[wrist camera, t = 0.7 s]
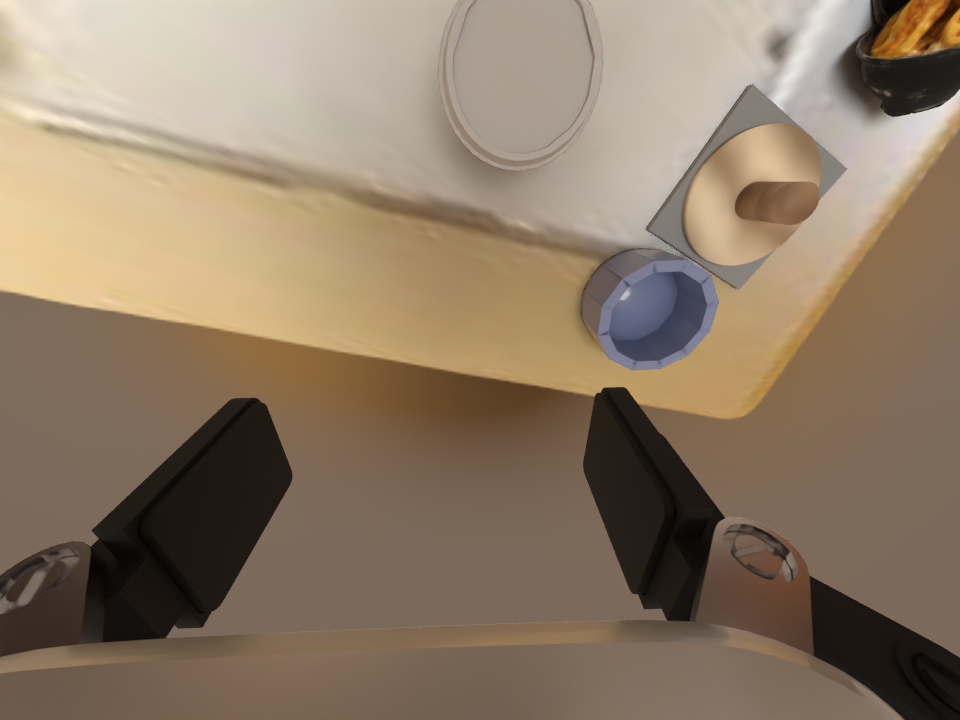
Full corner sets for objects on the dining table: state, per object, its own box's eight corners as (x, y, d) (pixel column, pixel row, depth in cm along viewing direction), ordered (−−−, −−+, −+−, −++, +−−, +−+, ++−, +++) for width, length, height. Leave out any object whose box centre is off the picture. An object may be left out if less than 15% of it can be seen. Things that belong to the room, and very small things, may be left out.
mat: (747, 86, 29) (752, 84, 28) (840, 169, 32) (847, 169, 32) (645, 228, 34) (648, 229, 34) (735, 288, 37) (739, 289, 37)
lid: (751, 94, 29) (816, 75, 24) (838, 171, 32) (913, 169, 27) (655, 227, 34) (691, 236, 28) (739, 283, 37) (785, 300, 31)
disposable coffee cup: (549, 177, 32) (590, 175, 21) (447, 169, 31) (436, 164, 21) (567, 42, 27) (631, -45, 17) (449, 31, 27) (437, -67, 16)
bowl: (624, 228, 34) (652, 236, 29) (702, 279, 37) (742, 295, 32) (561, 319, 38) (576, 341, 33) (635, 359, 41) (660, 385, 36)
